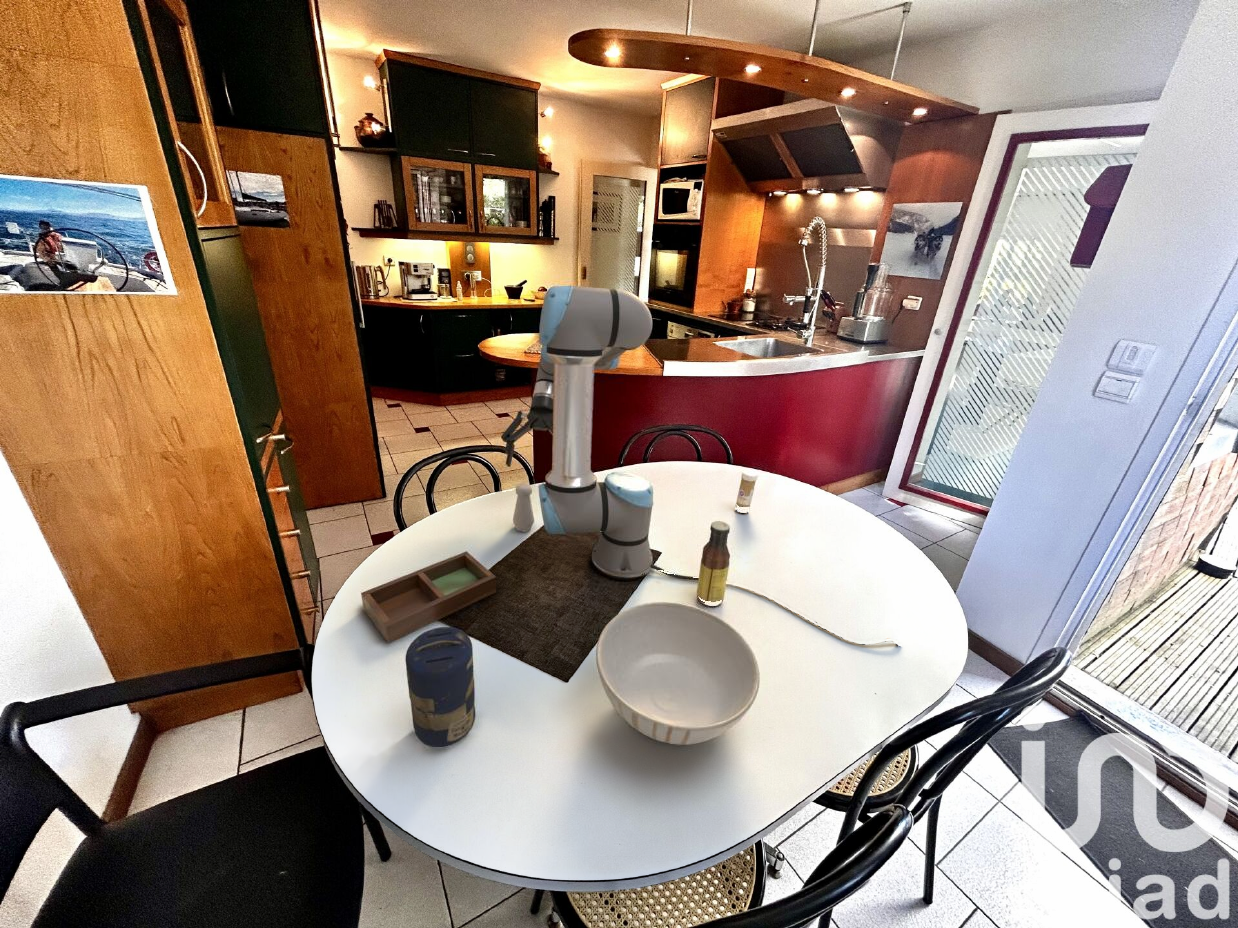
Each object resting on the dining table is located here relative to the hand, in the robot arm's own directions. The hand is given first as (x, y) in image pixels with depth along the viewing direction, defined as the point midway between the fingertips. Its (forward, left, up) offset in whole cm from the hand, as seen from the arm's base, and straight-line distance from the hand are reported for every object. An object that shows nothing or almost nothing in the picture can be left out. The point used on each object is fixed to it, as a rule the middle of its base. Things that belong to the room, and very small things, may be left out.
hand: (531, 467), depth 136 cm
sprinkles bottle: (-39, -52, -14) cm, 66 cm away
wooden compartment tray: (-18, +39, -14) cm, 45 cm away
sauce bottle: (-56, -9, -14) cm, 59 cm away
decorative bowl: (-69, +21, -14) cm, 73 cm away
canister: (-47, +51, -14) cm, 70 cm away
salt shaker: (-6, +7, -14) cm, 17 cm away
